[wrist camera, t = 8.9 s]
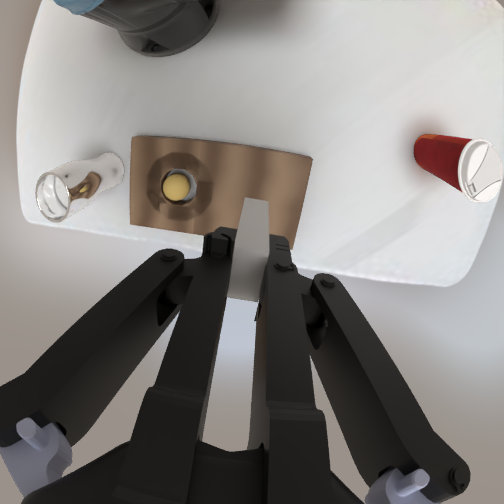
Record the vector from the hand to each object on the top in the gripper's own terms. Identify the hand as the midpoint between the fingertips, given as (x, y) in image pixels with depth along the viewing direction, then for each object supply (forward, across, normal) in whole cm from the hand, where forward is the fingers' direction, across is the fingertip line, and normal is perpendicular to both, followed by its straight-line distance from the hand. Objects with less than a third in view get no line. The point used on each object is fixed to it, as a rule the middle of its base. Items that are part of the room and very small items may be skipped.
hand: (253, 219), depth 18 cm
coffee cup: (+24, +26, +8) cm, 36 cm away
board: (+23, -6, -6) cm, 24 cm away
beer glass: (+23, -24, -5) cm, 34 cm away
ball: (+21, -11, -6) cm, 25 cm away
